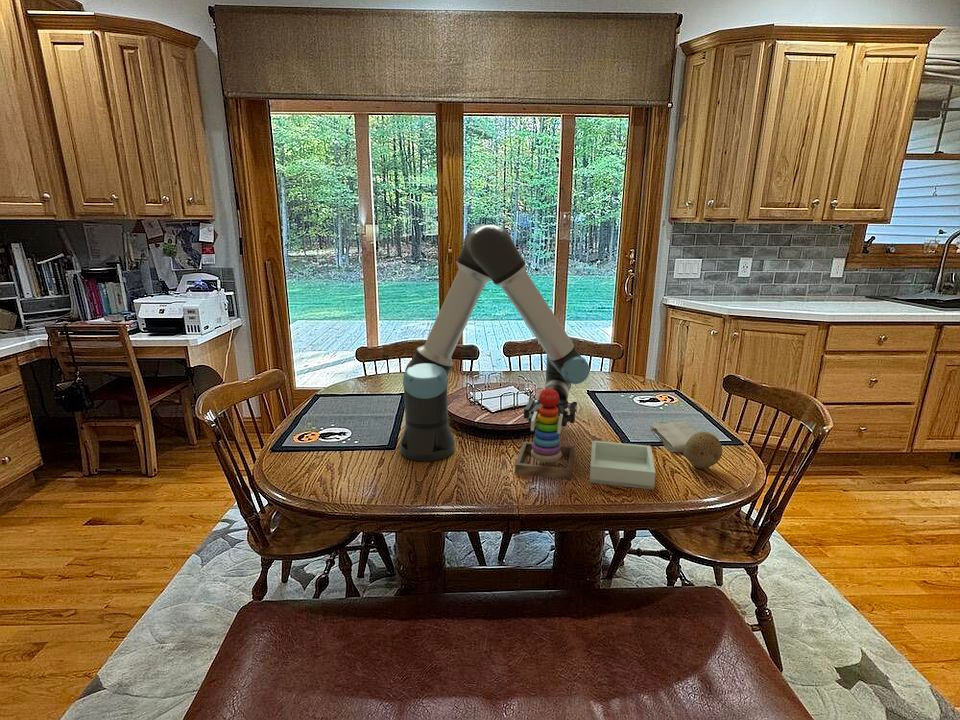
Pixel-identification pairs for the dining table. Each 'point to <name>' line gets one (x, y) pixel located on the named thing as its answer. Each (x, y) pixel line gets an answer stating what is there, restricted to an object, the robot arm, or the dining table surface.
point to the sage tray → (622, 465)
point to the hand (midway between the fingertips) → (545, 427)
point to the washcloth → (673, 434)
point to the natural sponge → (703, 450)
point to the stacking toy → (547, 428)
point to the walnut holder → (545, 470)
